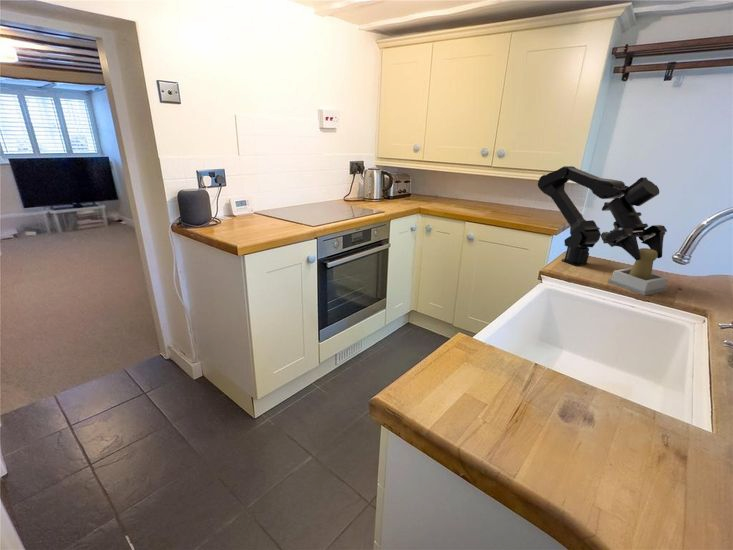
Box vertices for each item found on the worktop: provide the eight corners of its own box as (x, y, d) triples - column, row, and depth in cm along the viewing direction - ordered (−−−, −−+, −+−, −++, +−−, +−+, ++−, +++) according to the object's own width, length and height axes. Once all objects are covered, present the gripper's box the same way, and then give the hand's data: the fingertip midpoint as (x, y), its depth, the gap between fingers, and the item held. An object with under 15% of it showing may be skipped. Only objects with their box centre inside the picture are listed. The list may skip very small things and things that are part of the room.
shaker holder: (607, 282, 113) (611, 270, 112) (630, 277, 117) (633, 266, 116) (644, 295, 104) (648, 282, 102) (666, 290, 108) (671, 278, 106)
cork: (652, 288, 106) (664, 253, 102) (628, 284, 109) (639, 250, 105) (646, 281, 112) (657, 247, 108) (623, 278, 114) (633, 245, 110)
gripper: (623, 227, 122) (646, 267, 116) (582, 229, 116) (604, 272, 110) (654, 208, 112) (681, 251, 106) (611, 210, 106) (637, 256, 100)
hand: (649, 258), depth 106 cm, fingers open, 9 cm apart
